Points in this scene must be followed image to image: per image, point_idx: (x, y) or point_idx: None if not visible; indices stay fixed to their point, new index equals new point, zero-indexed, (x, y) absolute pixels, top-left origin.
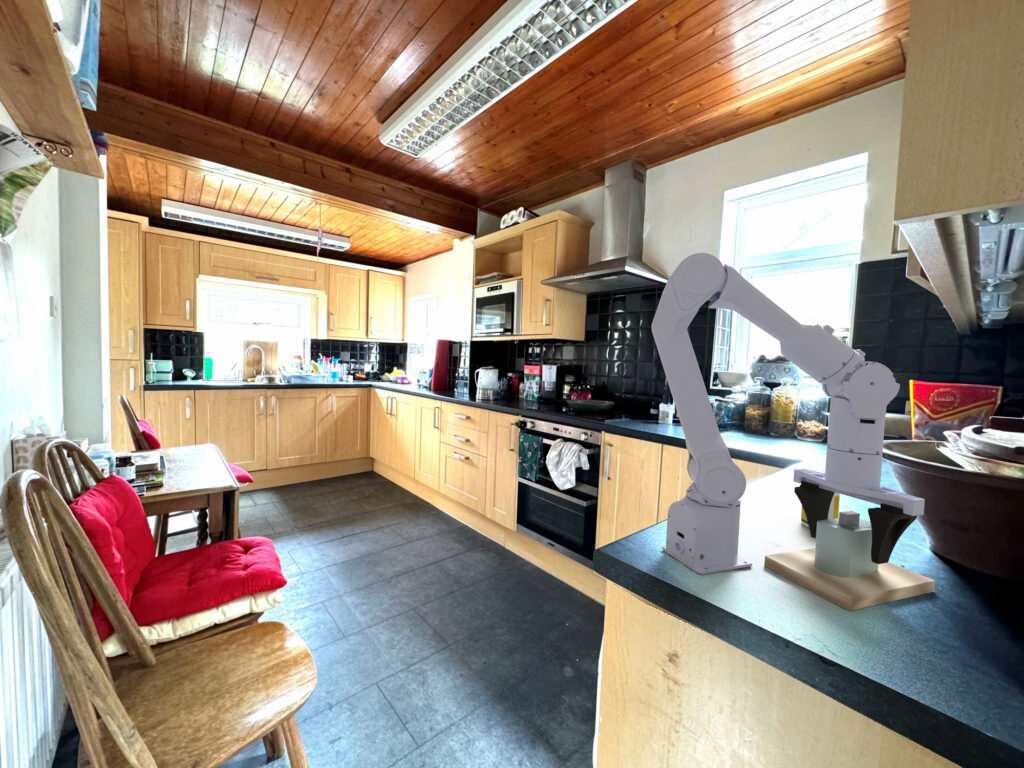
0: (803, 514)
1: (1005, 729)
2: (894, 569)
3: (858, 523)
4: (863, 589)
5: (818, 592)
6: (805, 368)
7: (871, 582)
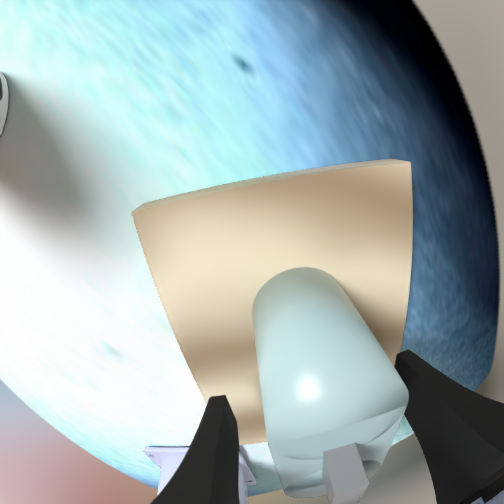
0: None
1: (488, 371)
2: (340, 215)
3: (355, 449)
4: None
5: None
6: None
7: None
